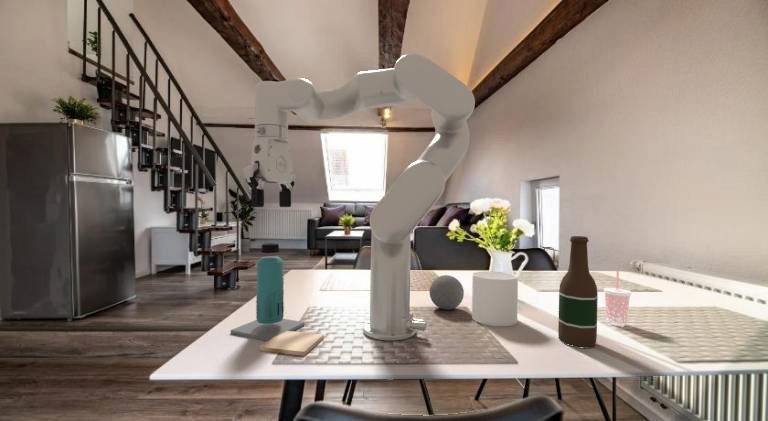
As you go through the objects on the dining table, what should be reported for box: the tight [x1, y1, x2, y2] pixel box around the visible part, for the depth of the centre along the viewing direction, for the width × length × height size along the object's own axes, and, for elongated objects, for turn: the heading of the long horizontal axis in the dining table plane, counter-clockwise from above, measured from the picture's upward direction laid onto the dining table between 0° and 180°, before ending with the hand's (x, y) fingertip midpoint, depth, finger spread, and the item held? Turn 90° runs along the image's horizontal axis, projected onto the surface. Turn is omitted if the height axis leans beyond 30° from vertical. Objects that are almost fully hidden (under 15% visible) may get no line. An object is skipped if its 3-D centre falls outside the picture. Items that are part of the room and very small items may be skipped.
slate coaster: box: [230, 318, 305, 342], centre depth 86 cm, size 12×12×1 cm
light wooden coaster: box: [259, 330, 325, 357], centre depth 77 cm, size 10×10×1 cm
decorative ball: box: [429, 274, 465, 311], centre depth 105 cm, size 10×10×10 cm
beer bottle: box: [558, 235, 599, 348], centre depth 80 cm, size 8×8×24 cm
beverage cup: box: [603, 270, 632, 325], centre depth 94 cm, size 6×6×14 cm
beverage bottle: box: [255, 242, 285, 324], centre depth 86 cm, size 6×7×20 cm
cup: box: [471, 271, 519, 328], centre depth 96 cm, size 12×12×12 cm
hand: (272, 206), depth 86 cm, fingers open, 9 cm apart
